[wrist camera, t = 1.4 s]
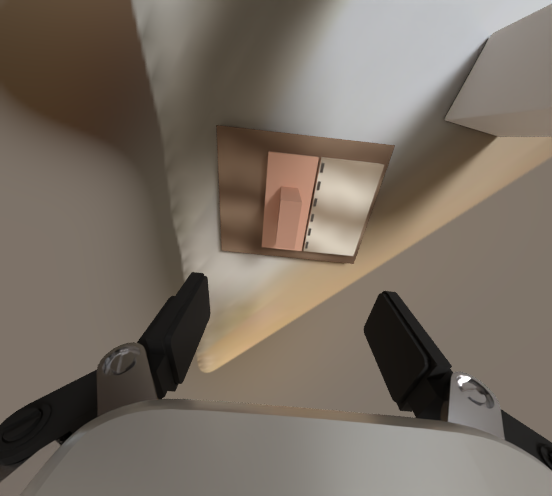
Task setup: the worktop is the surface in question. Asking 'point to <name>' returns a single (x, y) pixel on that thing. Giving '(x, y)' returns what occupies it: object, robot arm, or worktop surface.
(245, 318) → the worktop surface
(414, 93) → the worktop surface
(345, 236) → the board
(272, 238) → the stub
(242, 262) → the worktop surface
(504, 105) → the milk carton
